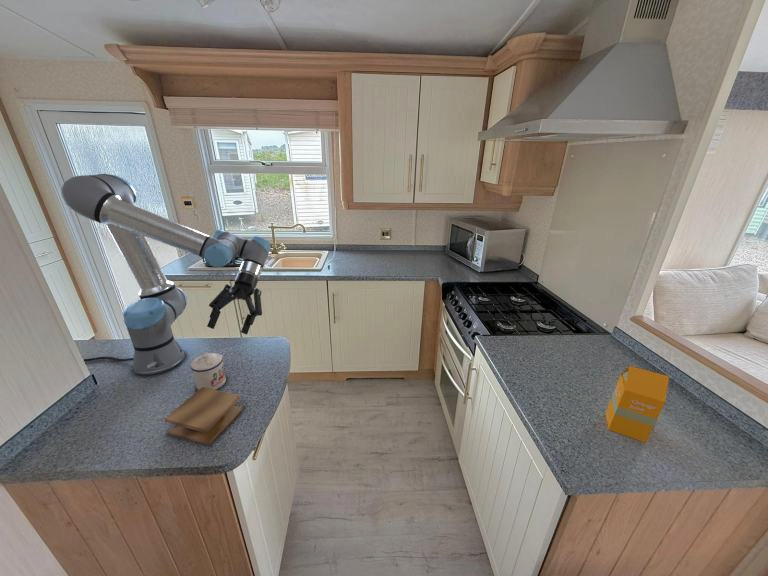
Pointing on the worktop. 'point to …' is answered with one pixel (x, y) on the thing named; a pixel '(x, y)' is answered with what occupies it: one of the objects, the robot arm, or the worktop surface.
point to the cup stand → (204, 415)
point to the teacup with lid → (208, 371)
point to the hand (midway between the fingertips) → (226, 330)
